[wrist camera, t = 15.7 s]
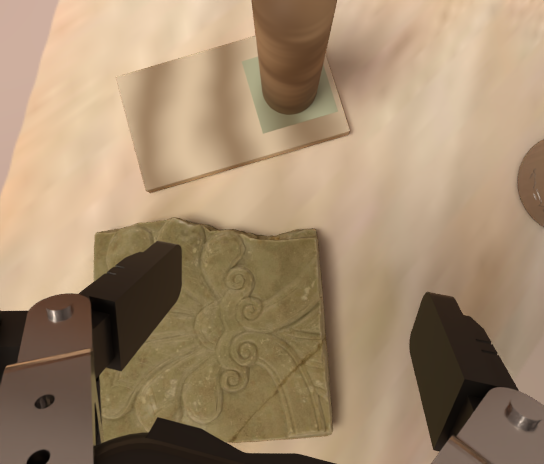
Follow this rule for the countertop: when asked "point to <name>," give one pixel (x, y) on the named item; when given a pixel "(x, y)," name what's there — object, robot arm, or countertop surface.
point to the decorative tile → (226, 337)
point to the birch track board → (217, 115)
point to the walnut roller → (291, 50)
